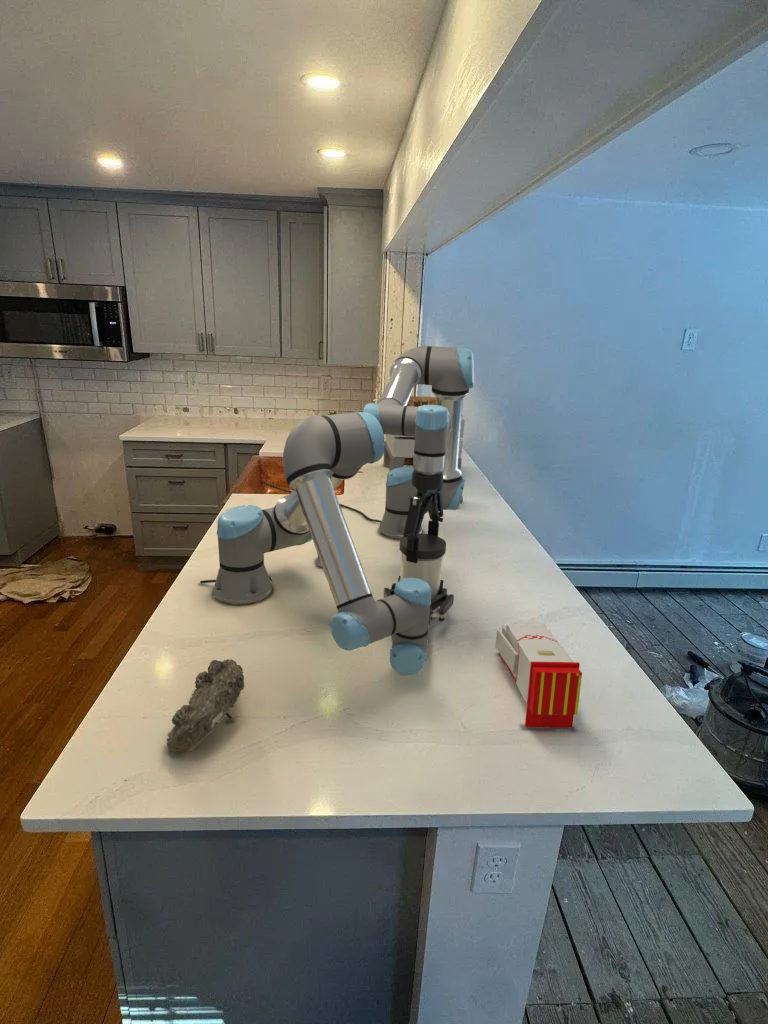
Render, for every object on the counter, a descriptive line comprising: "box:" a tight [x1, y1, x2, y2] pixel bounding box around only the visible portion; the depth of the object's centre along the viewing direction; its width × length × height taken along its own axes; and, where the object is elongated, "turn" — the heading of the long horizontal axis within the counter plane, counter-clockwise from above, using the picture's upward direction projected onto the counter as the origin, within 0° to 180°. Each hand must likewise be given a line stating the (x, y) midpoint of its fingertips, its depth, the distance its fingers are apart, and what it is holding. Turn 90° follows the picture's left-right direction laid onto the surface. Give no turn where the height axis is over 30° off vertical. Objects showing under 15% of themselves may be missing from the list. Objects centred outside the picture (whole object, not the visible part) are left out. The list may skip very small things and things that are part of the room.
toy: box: [494, 623, 583, 729], centre depth 120 cm, size 12×13×30 cm
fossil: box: [166, 658, 245, 754], centre depth 106 cm, size 22×10×15 cm
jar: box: [399, 552, 444, 619], centre depth 147 cm, size 10×10×19 cm
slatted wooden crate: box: [383, 395, 465, 472], centre depth 268 cm, size 34×33×41 cm
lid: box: [399, 533, 447, 559], centre depth 143 cm, size 12×12×2 cm
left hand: (420, 582), depth 151 cm, fingers closed on jar, 10 cm apart
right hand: (422, 553), depth 144 cm, fingers closed on lid, 12 cm apart
